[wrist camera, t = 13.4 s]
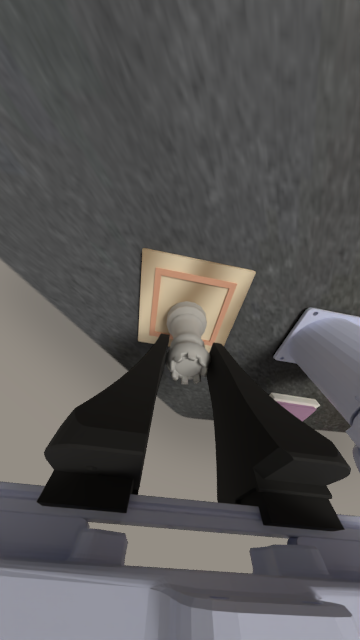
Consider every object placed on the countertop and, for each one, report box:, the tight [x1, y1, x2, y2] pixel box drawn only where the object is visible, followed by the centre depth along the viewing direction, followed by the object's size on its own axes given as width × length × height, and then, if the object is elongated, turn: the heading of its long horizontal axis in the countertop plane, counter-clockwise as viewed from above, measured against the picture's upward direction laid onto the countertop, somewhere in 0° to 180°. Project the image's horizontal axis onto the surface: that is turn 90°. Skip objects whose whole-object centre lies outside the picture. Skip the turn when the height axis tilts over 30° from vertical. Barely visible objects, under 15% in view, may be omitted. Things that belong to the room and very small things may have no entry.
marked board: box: [138, 248, 256, 353], centre depth 17 cm, size 11×11×1 cm
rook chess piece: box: [165, 301, 211, 385], centre depth 13 cm, size 4×4×8 cm
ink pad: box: [269, 393, 320, 421], centre depth 25 cm, size 8×6×2 cm
